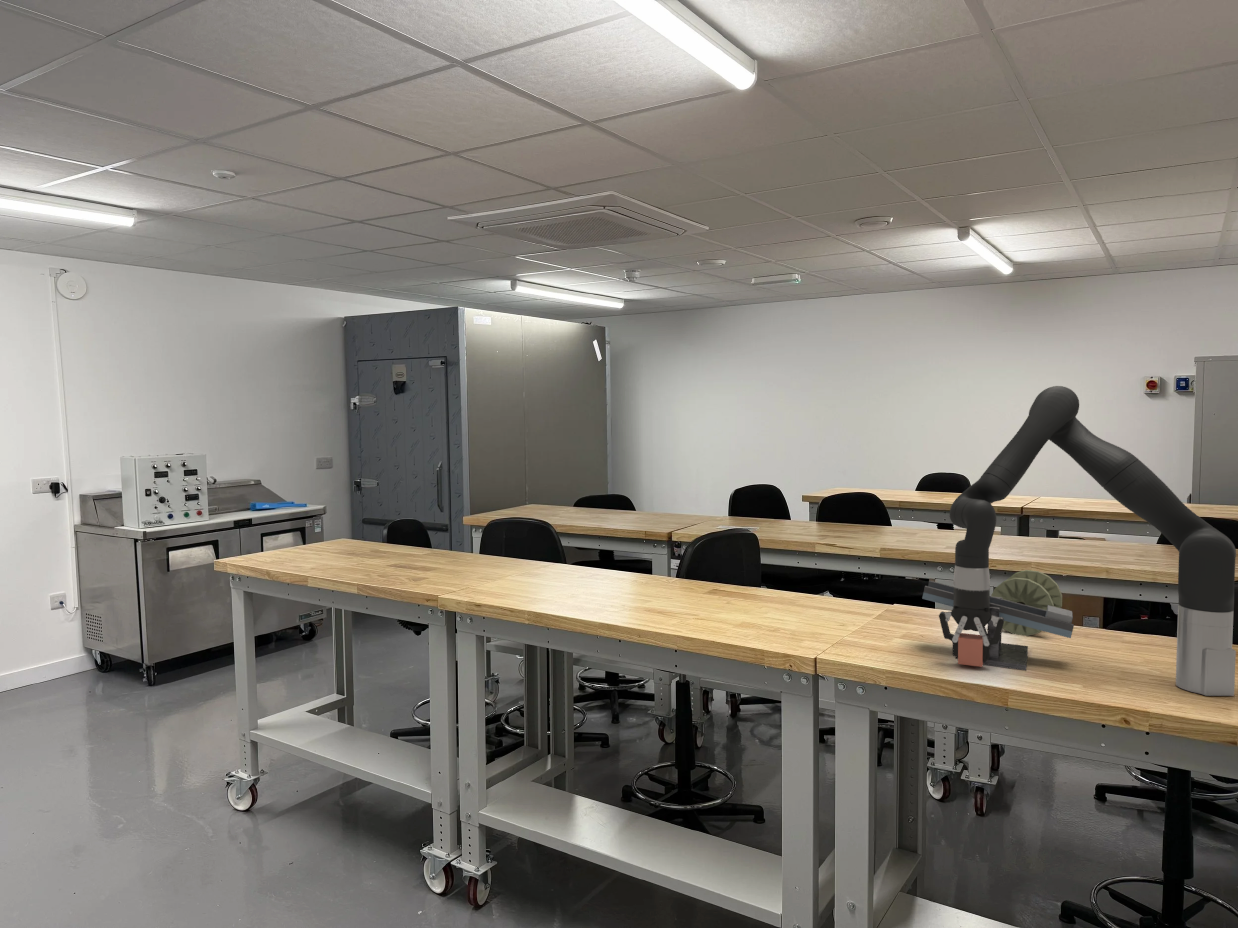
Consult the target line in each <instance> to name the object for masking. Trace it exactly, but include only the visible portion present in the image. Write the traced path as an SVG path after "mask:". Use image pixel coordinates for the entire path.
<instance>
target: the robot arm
mask: <svg viewBox="0 0 1238 928" xmlns="http://www.w3.org/2000/svg"><path fill="white" fill-rule="evenodd" d="M1079 410H1080V400H1079V397H1078V395H1077V394H1076V392H1075V391H1074V390H1072V389H1071V388H1069V387H1067V386H1062V385H1054V386H1050V387H1048V388H1047V387H1046V388H1045V389H1044V390H1042V391H1041V392H1040V393H1038V395H1037V396H1036V397H1035V399H1034V400H1033V403H1032V404H1031V406H1030V408H1029V411H1028V416H1027V417H1026V419H1025V420H1024V422H1023V424H1022V425H1021V426H1020V428H1019V430H1018V431H1017V432H1016V434H1014V436H1013V437H1012V439H1010V441H1009V442H1008V443H1007V444H1006V446H1004V448H1003V449H1002V450H1001V451H1000V452H999V454H998V455H997V456H996V457H995V458H994V460H992V462H991V463H990V464H989V466H988V467H987V468H986V469H985V471H984V472H983V473H982V474H981V476H980V477H979V478H978V480H976V481H975V482H974V483H973V484H971V485H969V487H967V489H965V490H964V491H963V492H961V494H959V495H958V496H957V497H956V498H955V500H953V502H952V504H951V506H950V509H949V519H950V522H951V523H952V524H953V525H954V526H956V527H958V528H959V529H961V528H962V529H965V530H966V532H965V536H964V539H960V540H957V542H956V544H955V549H954V553H955V554H954V558H955V559H954V570H953V571H954V573H953V580H952V581H953V583H952V584H953V585H952V586H953V587H954V604H953V607H952V609H951V611H941V612H940V613H939V614H938V618H939V621H940V626H941V630H942V635H943V638H944V639H945V640H949V641H951V642H952V655H953V657H955V659H956V660H958V637H959V636H960V635H961V633H963V631H973V632H978V635H980V637H981V639H983V662H986V660H989V657H990V646H991V645H993V644H998V642H999V638H1000V635H1001V631H1002V632H1003V628H1002V627H1003V624H1004V618H1003V617H996V616H992V614H991V612H990V596H991V595H990V594H991V593H990V592H991V591H990V590H991V588H990V587H991V580H990V579H991V575H990V569H989V566H990V565H989V563H990V554H989V553H990V551H989V550H990V547H991V544H992V541H993V538H994V532H995V530H996V525H997V513H996V510H995V507H994V506H993V505H992V504H993V503H997V502H1000V501H1003V500H1005V499H1006V498H1007V497H1008V496H1009V494H1011V492H1012V491H1013V490H1014V489H1015V487H1016V486H1017V484H1018V483H1019V482H1020V481H1021V479H1022V478H1023V476H1025V474H1026V472H1027V471H1028V469H1029V468H1030V467H1031V464H1033V462H1034V460H1035V459H1036V458H1037V455H1038V454H1039V453H1040V452H1041V450H1042V449H1043V447H1044V446H1045V445H1046V444H1047V442H1048V441H1050V442H1051V443H1053V444H1054V445H1056V446H1057V447H1058V448H1059V449H1060V450H1062V451H1063V452H1065V453H1066V454H1067V455H1068V456H1070V458H1071V459H1073V461H1074V462H1076V463H1077V464H1078V466H1080V467H1081V468H1082V469H1083V470H1084V471H1085V472H1086V473H1088V475H1090V477H1091V478H1092V479H1094V481H1096V482H1097V484H1099V486H1100V487H1102V488H1103V489H1104V490H1105V491H1106V492H1107V493H1108V494H1109V495H1110V496H1111V497H1112V498H1114V500H1116V501H1117V502H1118V503H1120V504H1121V505H1122V506H1123V507H1125V508H1126V509H1127V510H1128V511H1130V512H1132V513H1133V514H1134V515H1136V516H1138V517H1139V518H1141V519H1143V520H1144V521H1146V522H1147V523H1149V524H1150V525H1152V527H1154V528H1155V529H1157V530H1158V531H1159V532H1160V533H1161V534H1162V535H1163V536H1164V537H1165V539H1167V540H1168V541H1169V543H1170V544H1172V545H1173V547H1174V548H1175V549H1176V550H1177V551H1178V568H1177V569H1178V576H1177V578H1178V579H1177V581H1178V582H1177V593H1178V606H1177V632H1176V633H1177V634H1176V659H1175V661H1176V665H1175V685H1176V687H1178V688H1179V689H1182V690H1184V691H1188V692H1191V693H1195V694H1200V695H1203V696H1208V697H1209V696H1211V697H1212V696H1213V697H1214V696H1218V697H1220V696H1221V697H1222V696H1225V697H1227V696H1228V697H1229V696H1232V697H1233V696H1235V686H1236V685H1235V683H1236V682H1235V681H1236V657H1237V651H1236V649H1234V648H1233V637H1234V636H1233V631H1234V630H1233V629H1234V627H1233V626H1234V608H1235V577H1236V575H1235V574H1236V557H1237V550H1236V546H1235V544H1234V543H1233V541H1232V540H1231V539H1230V537H1228V536H1227V535H1226V534H1224V533H1223V532H1221V531H1219V530H1218V529H1217V528H1215V527H1213V526H1212V524H1209V523H1208V522H1207V521H1205V520H1204V519H1203V518H1201V516H1199V515H1197V514H1196V513H1195V512H1194V511H1192V510H1191V509H1190V508H1189V507H1187V506H1186V505H1185V504H1184V503H1183V502H1182V500H1181V499H1180V498H1179V497H1178V496H1177V495H1176V494H1175V493H1174V492H1173V490H1171V489H1170V488H1169V486H1168V485H1167V484H1166V483H1165V482H1164V481H1163V480H1162V479H1161V478H1160V477H1159V476H1157V475H1156V473H1155V472H1154V471H1152V470H1151V469H1150V468H1149V466H1147V465H1145V463H1143V462H1142V461H1141V460H1140V459H1139V458H1138V457H1137V456H1136V455H1134V454H1133V453H1131V452H1130V451H1128V450H1126V449H1125V448H1122V447H1121V446H1118V445H1116V444H1113V443H1110V442H1109V441H1106V440H1105V439H1102V438H1100V437H1098V436H1097V435H1095V434H1094V433H1093V432H1091V431H1090V430H1089V429H1088V428H1087V427H1086V426H1085V425H1084V424H1083V423H1082V422H1081V421H1080V420H1079V419H1078V418H1077V417H1076V416H1077V415H1078V413H1079ZM951 618H953V620H954V621H955V622H956V624H957V628H956V630H955V632H954V634H953V633H951V631H950V627H949V626H950V625H949V623H948V622H950V620H951ZM990 620H992V621H993V625H994V626H995V627H996V630H995V633H994V637H993V638H989V637H988V634H987V629H986V627H987V626H988V622H989V621H990ZM1001 636H1002V635H1001Z"/></svg>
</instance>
